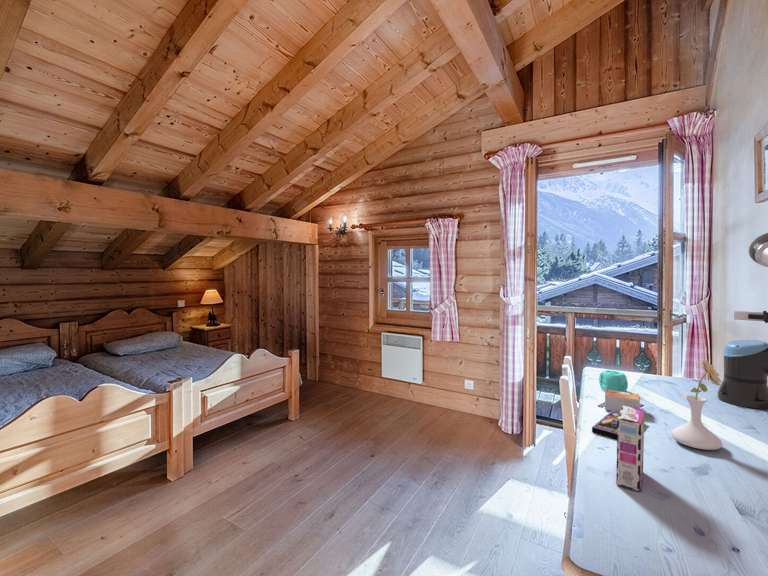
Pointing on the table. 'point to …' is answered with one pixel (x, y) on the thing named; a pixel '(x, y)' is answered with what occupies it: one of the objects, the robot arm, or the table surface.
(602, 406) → the grey mat
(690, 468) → the table surface
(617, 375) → the decorative dice
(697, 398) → the flower in vase
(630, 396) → the small box
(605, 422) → the vhs tape
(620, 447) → the candy bar box
